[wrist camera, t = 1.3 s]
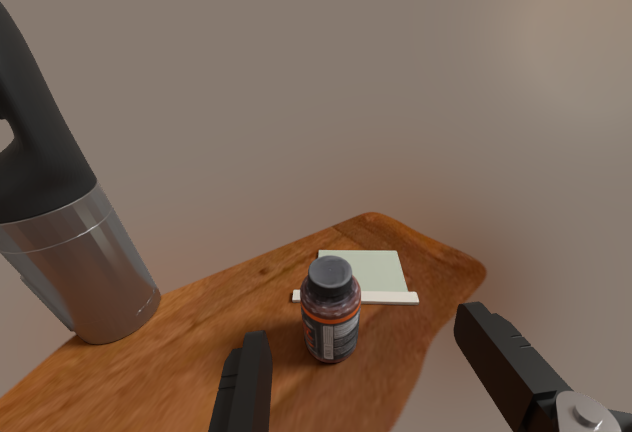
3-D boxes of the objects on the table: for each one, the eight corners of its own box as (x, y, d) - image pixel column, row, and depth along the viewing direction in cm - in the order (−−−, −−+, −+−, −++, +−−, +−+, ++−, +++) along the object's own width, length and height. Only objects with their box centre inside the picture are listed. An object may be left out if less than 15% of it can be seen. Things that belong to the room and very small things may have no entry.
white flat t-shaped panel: (292, 302, 35) (292, 299, 35) (300, 251, 43) (299, 249, 43) (418, 304, 34) (419, 302, 34) (402, 252, 42) (403, 250, 42)
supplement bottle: (298, 325, 32) (289, 256, 26) (343, 310, 34) (345, 240, 27) (315, 374, 28) (309, 304, 21) (366, 354, 29) (376, 283, 23)
